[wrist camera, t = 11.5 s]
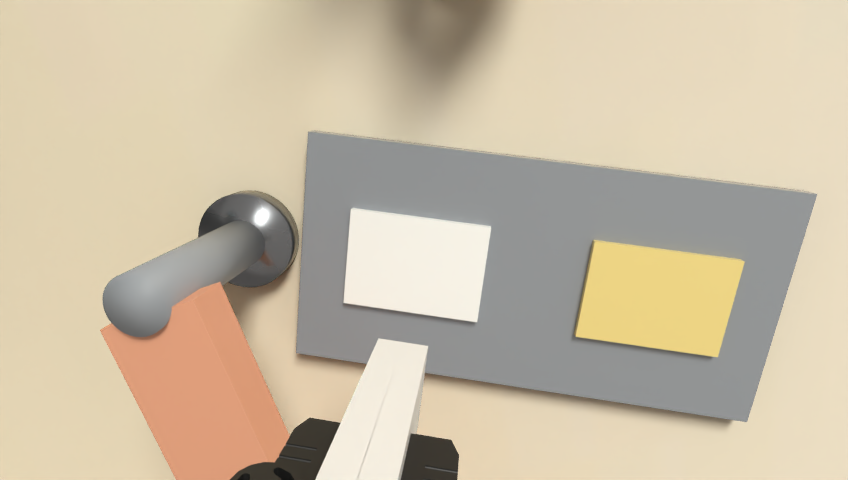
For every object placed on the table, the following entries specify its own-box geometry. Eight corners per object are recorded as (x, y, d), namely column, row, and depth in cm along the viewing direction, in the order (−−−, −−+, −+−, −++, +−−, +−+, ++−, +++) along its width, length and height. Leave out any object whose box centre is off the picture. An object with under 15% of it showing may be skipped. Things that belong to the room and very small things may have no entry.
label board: (301, 345, 30) (293, 356, 29) (314, 130, 27) (305, 132, 26) (737, 411, 28) (750, 426, 27) (804, 190, 25) (822, 195, 24)
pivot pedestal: (209, 273, 30) (198, 280, 28) (210, 184, 28) (198, 188, 27) (296, 285, 29) (288, 293, 28) (301, 197, 28) (293, 200, 27)
